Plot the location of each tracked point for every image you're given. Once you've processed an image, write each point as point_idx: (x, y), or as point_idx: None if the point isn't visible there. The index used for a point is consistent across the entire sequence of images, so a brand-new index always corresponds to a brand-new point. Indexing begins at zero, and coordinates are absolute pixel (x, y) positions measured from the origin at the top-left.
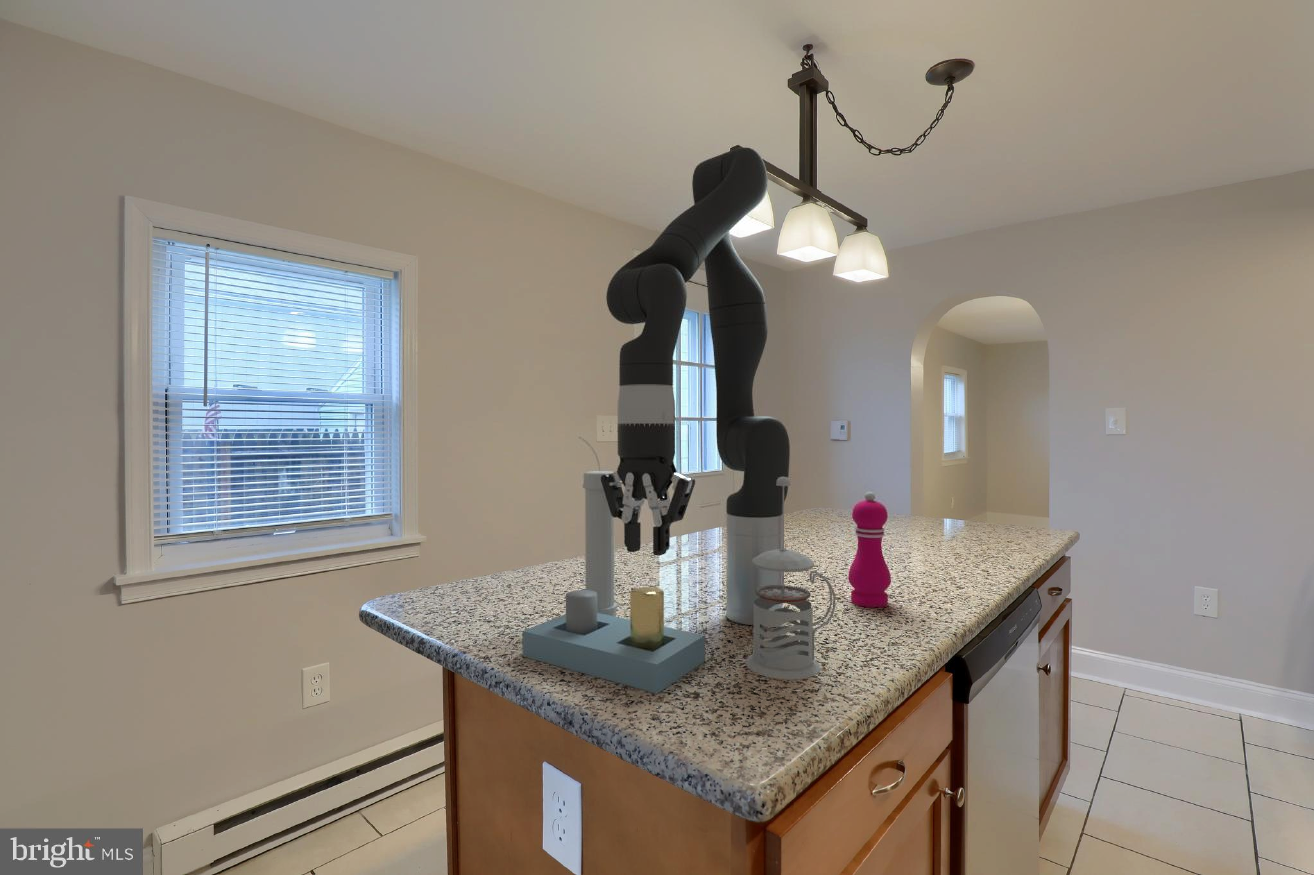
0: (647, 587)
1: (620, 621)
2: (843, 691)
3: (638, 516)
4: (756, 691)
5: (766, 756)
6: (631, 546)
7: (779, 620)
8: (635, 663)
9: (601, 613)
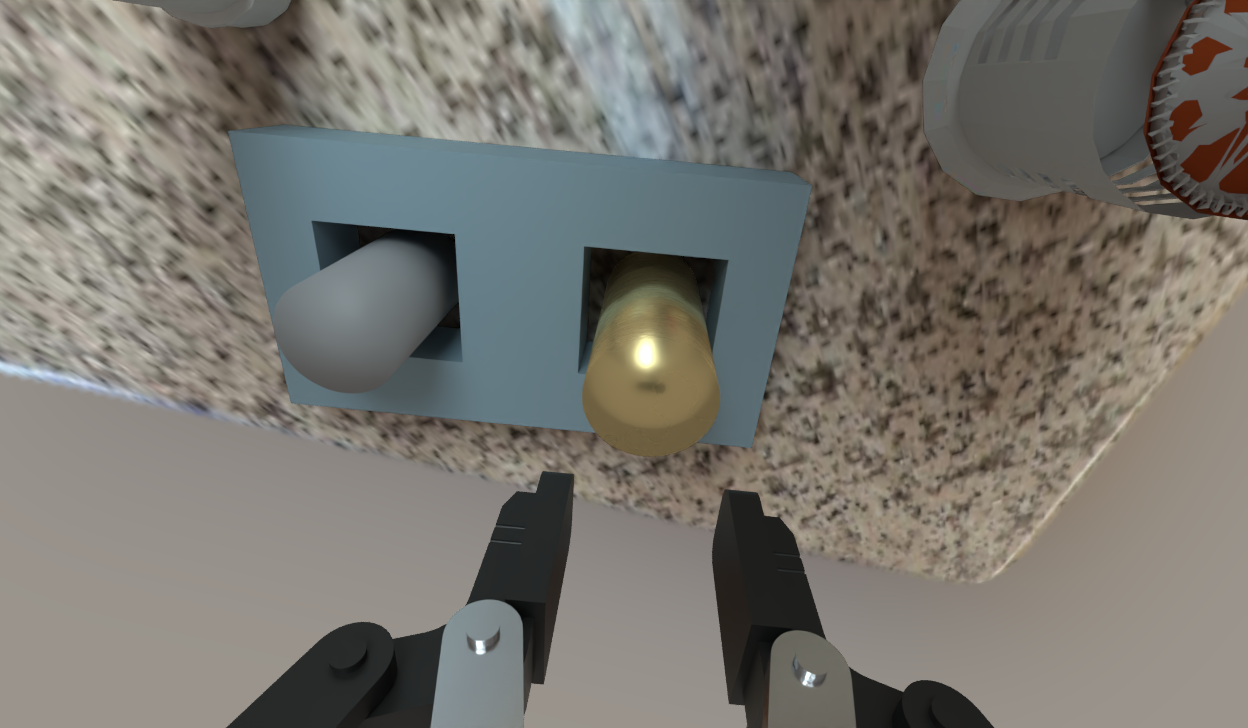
0: (620, 347)
1: (467, 193)
2: None
3: (521, 652)
4: (970, 302)
5: (1001, 520)
6: (566, 559)
7: (1179, 207)
8: None
9: (260, 7)
